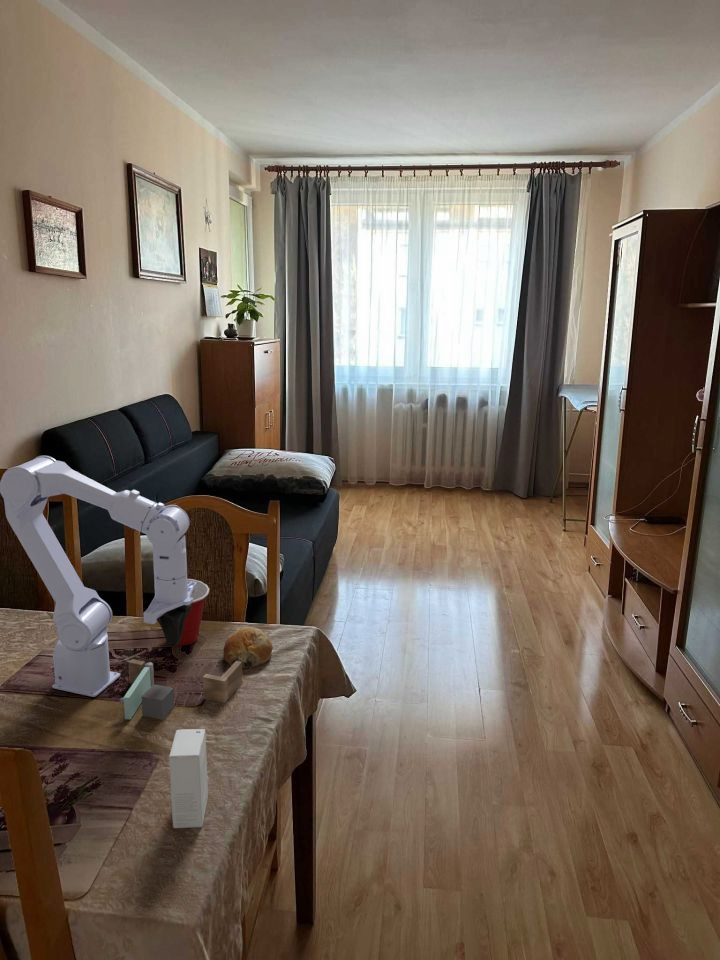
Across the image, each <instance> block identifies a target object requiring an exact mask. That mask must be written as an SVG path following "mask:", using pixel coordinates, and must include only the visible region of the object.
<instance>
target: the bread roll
mask: <svg viewBox="0 0 720 960" xmlns="http://www.w3.org/2000/svg"><path fill="white" fill-rule="evenodd" d="M273 648H274V647H273V644H272V641H271V639H270V637H269V636H268V635H267V633H266V632H264V631H263V630H261V629H260V628H257V627H253V626H241V628H239V629H237V630H236V631H235V632H233V633H232V634H231V635H229V636H228V637H227V639H226V641H225V643H224V647H223V659H224V660H225V662H226V663H227V664H228V665H231V666H232V665H233V664H234V663H235V662H236V661H240V662H242V669H248V668H254V667H255V668H256V667H257V666H261V665H263V664H265V663H267V662H268V661H269V660H270V659H271V656H272V654H273Z"/></svg>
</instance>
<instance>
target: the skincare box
mask: <svg viewBox="0 0 720 960" xmlns="http://www.w3.org/2000/svg"><path fill="white" fill-rule="evenodd" d="M206 735H207V733H206V729H205V728H197V729H195V728H194V729H193V728H191V729H176V730H175V733H174V738H173V741H172V745H171V748H170V753H169V756H168V759H169V760H168V761H169V762H168V763H169V778H170V779H169V780H170V799H171V814H172V815H171V817H172V828H174V829H186V828H188V829H189V828H192V829H193V828H202V827H203V825H204V819H205V816H206V815H205V814H206V810H207V803H208V799H209V791H208V787H209V786H208V766H207V765H208V764H207V761H208V759H207V737H206Z"/></svg>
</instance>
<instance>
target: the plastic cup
mask: <svg viewBox="0 0 720 960" xmlns="http://www.w3.org/2000/svg"><path fill="white" fill-rule="evenodd" d="M187 581H192V582H197V592H196V593H192V594H191V596H190V597H192V598H193V602H192V603H191V610H190V612H189V613H188V615H187V618H186V620H185V624H184V627H183V632H182V636H181V640H180V642H179V643H178V644H177V645H178V646H186V645H192V644H193V643H195V642H197V640H198V638H199V634H200V627H201V623H202V617H203V613H204V611H203V610H204V605H205V602H206V599H207V596H209V592H210V588H209V586H208V584H206V583H204V582H203V581H201V580H197V579H193V578H187ZM177 645H176V646H177Z"/></svg>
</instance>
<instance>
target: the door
mask: <svg viewBox="0 0 720 960" xmlns="http://www.w3.org/2000/svg"><path fill="white" fill-rule="evenodd" d="M154 678H155V677H154V663H153V662H150V661H149V662H145V667H144V669H143V670H142V671H141V673H140V674H139V676H138V677H137V679H136V680H135V682H134V683H133V684H131V686H130V687H129V688H128V690H127V692H126V693H125V695H124V696H123V697H120V698H119V705H120V704H122V705H123V707H124V708H123V709H124V720H131V719H132V718H133V717H134V715H135V713H136V712H137V710H138V708H139V707H140V706H141V705H142V698H141V696H142V695H143V694H144V693H145V692H146V691H147V690H148V689H149V688H150V687H151V686H152V685H153V684H154V685H155V679H154Z"/></svg>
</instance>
